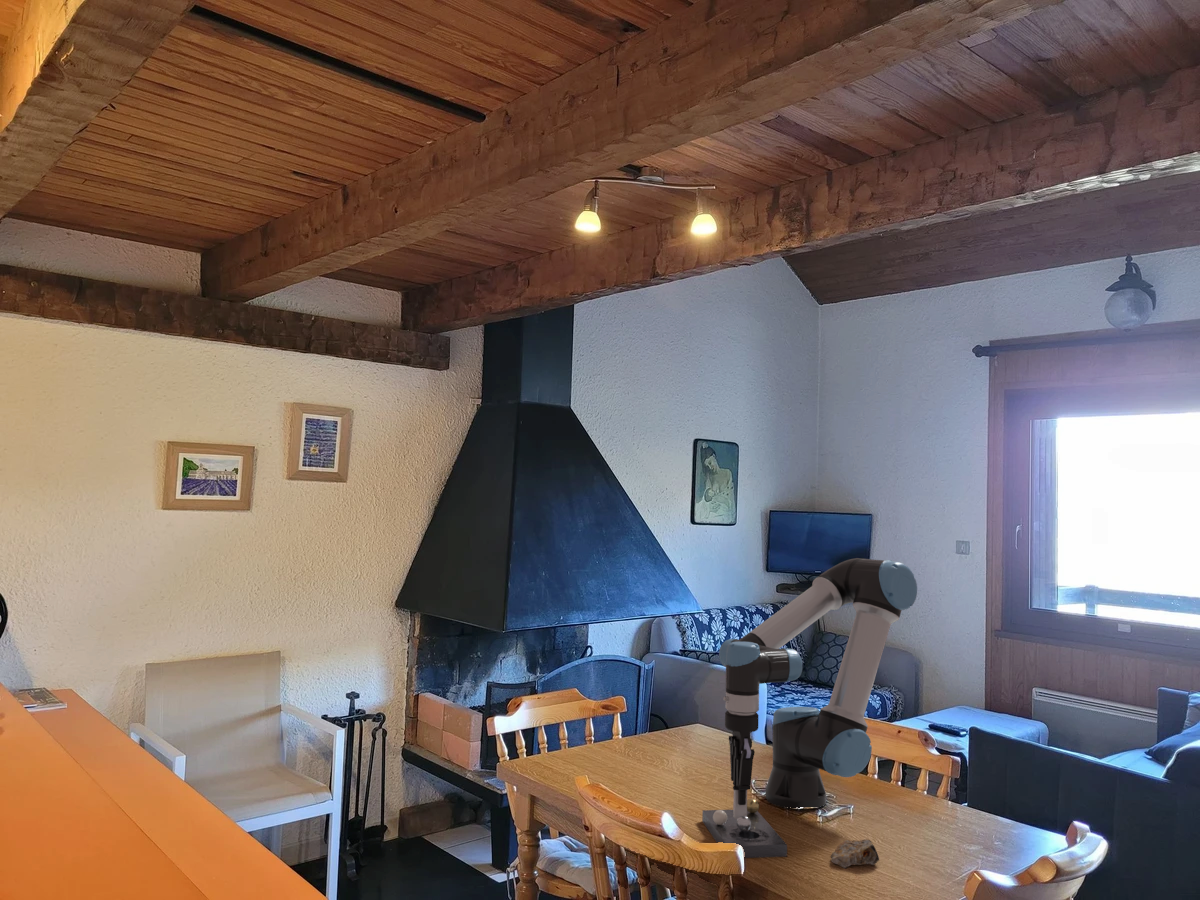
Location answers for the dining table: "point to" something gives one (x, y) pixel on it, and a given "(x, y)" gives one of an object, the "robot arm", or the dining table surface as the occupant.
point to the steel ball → (743, 823)
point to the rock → (855, 853)
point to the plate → (747, 835)
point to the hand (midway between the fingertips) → (739, 817)
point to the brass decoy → (752, 806)
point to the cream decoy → (720, 817)
